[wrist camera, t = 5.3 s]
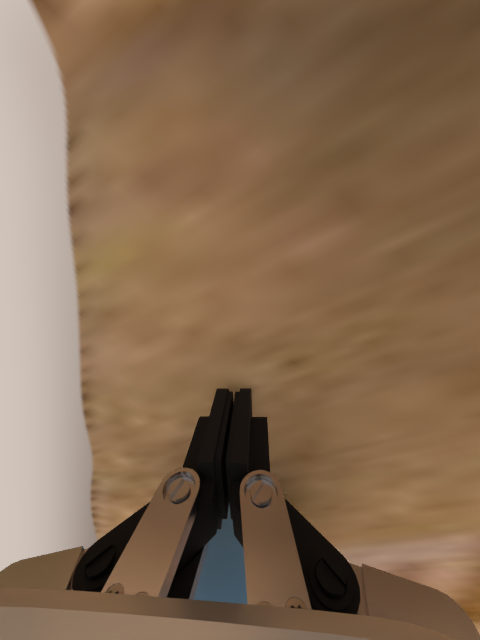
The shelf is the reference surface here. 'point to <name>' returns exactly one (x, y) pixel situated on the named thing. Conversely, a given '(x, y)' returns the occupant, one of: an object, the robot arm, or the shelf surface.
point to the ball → (223, 568)
